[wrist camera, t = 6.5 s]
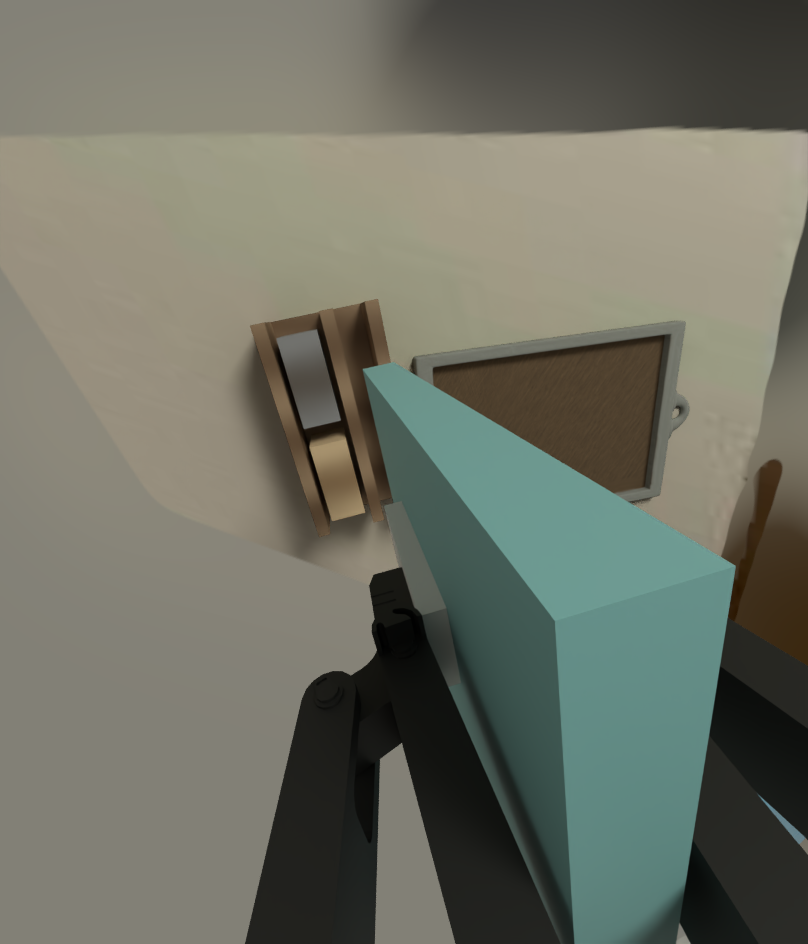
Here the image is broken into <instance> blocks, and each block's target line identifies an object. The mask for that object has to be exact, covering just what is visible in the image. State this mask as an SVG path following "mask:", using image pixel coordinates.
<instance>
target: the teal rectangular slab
mask: <svg viewBox="0 0 808 944" xmlns="http://www.w3.org/2000/svg"><path fill="white" fill-rule="evenodd" d="M363 373H364V378H365V382H366V386H367V391H368V395H369V399H370V404H371V408H372V412H373V417H374V421H375V425H376V430H377V434H378V438H379V443H380V447H381V451H382V456H383V460H384V464H385V469H386V473H387V477H388V482H389V486H390V490H391V495H392V499H393V503H396V502H400V501H402V503H403V506H404V508H405V510H406V513H407V515H408V518H409V520H410V522H411V525H412V527H413V530H414V532H415V534H416V537H417V539H418V541H419V544H420V546H421V549H422V551H423V553H424V556H425V558H426V561H427V563H428V565H429V568H430V570H431V572H432V575H433V577H434V580H435V582H436V584H437V587H438V589H439V592H440V594H441V596H442V599H443V601H444V603H445V606H446V608H447V613H448V619H449V624H450V629H451V634H452V639H453V644H454V649H455V654H456V660H457V665H458V670H459V675H460V680H461V683H459V684H456V685H453V686H450V687H449V690H450V692H451V694H452V696H453V699H454V701H455V703H456V705H457V708H458V710H459V712H460V715H461V717H462V719H463V721H464V724H465V726H466V728H467V731H468V733H469V735H470V737H471V740H472V742H473V744H474V747H475V749H476V751H477V753H478V756H479V758H480V760H481V763H482V765H483V767H484V769H485V772H486V774H487V776H488V779H489V781H490V783H491V785H492V788H493V790H494V792H495V795H496V797H497V799H498V801H499V804H500V806H501V808H502V810H503V813H504V815H505V817H506V820H507V822H508V824H509V826H510V829H511V831H512V833H513V836H514V838H515V840H516V842H517V845H518V847H519V849H520V852H521V854H522V856H523V858H524V861H525V863H526V865H527V868H528V870H529V872H530V874H531V877H532V879H533V881H534V884H535V886H536V888H537V890H538V893H539V895H540V897H541V900H542V902H543V904H544V906H545V909H546V911H547V913H548V916H549V918H550V920H551V922H552V925H553V927H554V929H555V931H556V934H557V936H558V938H559V941H560V943H561V944H676V941H677V934H678V928H679V922H680V915H681V909H682V903H683V896H684V890H685V884H686V877H687V871H688V865H689V858H690V852H691V846H692V839H693V833H694V827H695V820H696V814H697V808H698V801H699V795H700V789H701V783H702V776H703V770H704V764H705V757H706V751H707V745H708V738H709V732H710V726H711V719H712V713H713V707H714V700H715V694H716V688H717V681H718V675H719V669H720V662H721V656H722V650H723V643H724V637H725V631H726V624H727V618H728V612H729V605H730V599H731V593H732V586H733V580H734V574H735V567H736V566H735V565H733V564H731V563H730V562H728V561H726V560H725V559H723V558H721V557H720V556H718V555H716V554H715V553H713V552H711V551H710V550H708V549H706V548H705V547H703V546H701V545H699V544H698V543H696V542H694V541H693V540H691V539H689V538H688V537H686V536H684V535H683V534H681V533H679V532H678V531H676V530H674V529H673V528H671V527H669V526H668V525H666V524H664V523H663V522H661V521H659V520H658V519H656V518H654V517H652V516H651V515H649V514H647V513H646V512H644V511H642V510H641V509H639V508H637V507H636V506H634V505H632V504H631V503H629V502H627V501H626V500H624V499H622V498H621V497H619V496H617V495H616V494H614V493H612V492H611V491H609V490H607V489H606V488H604V487H602V486H600V485H599V484H597V483H595V482H594V481H592V480H590V479H589V478H587V477H585V476H584V475H582V474H580V473H579V472H577V471H575V470H574V469H572V468H570V467H569V466H567V465H565V464H564V463H562V462H560V461H559V460H557V459H555V458H554V457H552V456H550V455H548V454H547V453H545V452H543V451H542V450H540V449H538V448H537V447H535V446H533V445H532V444H530V443H528V442H527V441H525V440H523V439H522V438H520V437H518V436H517V435H515V434H513V433H512V432H510V431H508V430H507V429H505V428H503V427H502V426H500V425H498V424H496V423H495V422H493V421H491V420H490V419H488V418H486V417H485V416H483V415H481V414H480V413H478V412H476V411H475V410H473V409H471V408H470V407H468V406H466V405H465V404H463V403H461V402H460V401H458V400H456V399H455V398H453V397H451V396H450V395H448V394H446V393H444V392H443V391H441V390H439V389H438V388H436V387H434V386H433V385H431V384H429V383H428V382H426V381H424V380H423V379H421V378H419V377H418V376H416V375H414V374H413V373H411V372H409V371H408V370H406V369H404V368H403V367H401V366H399V365H398V364H396V363H394V362H392V363H388V364H383V365H379V366H374V367H370V368H366V369H363Z"/></svg>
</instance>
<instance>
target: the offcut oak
mask: <svg viewBox="0 0 808 944" xmlns="http://www.w3.org/2000/svg"><path fill="white" fill-rule="evenodd" d="M310 450H311V454H312V457H313V460H314V464H315V467H316V470H317V473H318V477H319V480H320V483H321V486H322V490H323V493H324V496H325V499H326V503H327V506H328V509H329V513H330V516H331V519H332V521H335V520H339V519H343V518H346V517H350V516H354V515H358V514H362V513H365V509H364V504H363V499H362V494H361V491H360V487H359V483H358V479H357V475H356V472H355V468H354V464H353V460H352V456H351V453H350V449H349V445H348V441H347V438H346V434H345V430H344V427H341V428H337V429H333V430H328V431H324V432H320V433H316V434H312V435H311V441H310Z"/></svg>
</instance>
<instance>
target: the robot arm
mask: <svg viewBox="0 0 808 944" xmlns="http://www.w3.org/2000/svg"><path fill="white" fill-rule="evenodd" d="M384 508H385V512H386V516H387V521H388V525H389V529H390V533H391V537H392V541H393V545H394V549H395V554H396V558H397V562H398V565H399V568H396V569H393V570H389V571H386V572H382V573H378V574H375V575H373V578H372V580H371V583H370V585H369V587H370V593H371V598H372V605H373V611H374V618H375V620H374V622H373V624H372V635H373V638H374V641H375V645H376V648H377V652H376V654H375V656H374V657H373V659H372V660H371V661H370V662H369V663H368V664H367V665H366V666H365V667H363V668H362V669H361V670H359V671H357V672H356V673H354V674H353V675H351V676H350V675H349V674H347V673H344V672H343V671H332V672H329V673H326V674H323V675H321V676H320V677H318V678H317V679H316V680H314V681H313V682H312V683H311V684H310V686H309V687H308V688H307V689H306V691H305V693H304V696H303V698H302V701H301V706H300V710H299V714H298V718H297V722H296V727H295V731H294V736H293V740H292V744H291V748H290V753H289V757H288V761H287V766H286V770H285V774H284V779H283V783H282V787H281V792H280V796H279V800H278V805H277V809H276V813H275V817H274V821H273V826H272V830H271V834H270V839H269V843H268V847H267V852H266V856H265V860H264V865H263V869H262V874H261V877H260V882H259V886H258V890H257V895H256V899H255V903H254V908H253V912H252V917H251V921H250V925H249V929H248V933H247V938H246V942H245V944H375V913H376V911H375V910H376V909H375V908H376V877H377V843H378V842H377V841H378V840H377V839H378V806H379V772H380V771H379V769H380V758H382V757H383V756H384V755H386V754H387V753H388V752H390V751H391V750H393V749H394V748H395V747H397V746H398V745H399V744H401V743H402V744H403V748H404V752H405V756H406V760H407V763H408V767H409V771H410V775H411V778H412V782H413V785H414V790H415V793H416V797H417V801H418V805H419V808H420V812H421V816H422V819H423V823H424V827H425V831H426V835H427V838H428V842H429V846H430V850H431V853H432V857H433V861H434V865H435V868H436V872H437V876H438V880H439V883H440V887H441V891H442V895H443V898H444V902H445V906H446V910H447V913H448V917H449V921H450V924H451V928H452V932H453V935H454V940H455V943H456V944H561V943H560V941H559V938H558V936H557V934H556V931H555V929H554V927H553V925H552V922H551V920H550V918H549V916H548V913H547V911H546V909H545V906H544V904H543V902H542V900H541V897H540V895H539V893H538V890H537V888H536V886H535V884H534V881H533V879H532V877H531V874H530V872H529V870H528V868H527V865H526V863H525V861H524V858H523V856H522V854H521V852H520V849H519V847H518V845H517V842H516V840H515V838H514V836H513V833H512V831H511V829H510V826H509V824H508V822H507V820H506V817H505V815H504V813H503V810H502V808H501V806H500V804H499V801H498V799H497V797H496V795H495V792H494V790H493V788H492V785H491V783H490V781H489V779H488V776H487V774H486V772H485V769H484V767H483V765H482V763H481V760H480V758H479V756H478V753H477V751H476V749H475V747H474V744H473V742H472V740H471V737H470V735H469V733H468V731H467V728H466V726H465V724H464V721H463V719H462V717H461V715H460V712H459V710H458V708H457V705H456V703H455V701H454V699H453V696H452V694H451V692H450V690H449V687H450V686H453V685H456V684H459V683H461V680H460V675H459V670H458V665H457V660H456V654H455V649H454V644H453V639H452V634H451V629H450V624H449V619H448V613H447V608H446V606H445V603H444V601H443V599H442V596H441V594H440V592H439V589H438V587H437V584H436V582H435V580H434V577H433V575H432V572H431V570H430V568H429V565H428V563H427V561H426V558H425V556H424V553H423V551H422V549H421V546H420V544H419V541H418V539H417V537H416V534H415V532H414V530H413V527H412V525H411V522H410V520H409V518H408V515H407V513H406V510H405V508H404V506H403V503H402V501H400V502H396V503H392V504H388V505H384ZM805 838H806V839H807V840H808V666H807V665H805V664H804V663H802V662H800V661H798V660H797V659H795V658H794V657H792V656H790V655H789V654H787V653H785V652H783V651H782V650H780V649H779V648H777V647H775V646H774V645H772V644H770V643H768V642H767V641H765V640H764V639H762V638H760V637H758V636H757V635H755V634H754V633H752V632H750V631H748V630H747V629H745V628H743V627H742V626H740V625H738V624H737V623H735V622H733V621H732V620H730V619H728V618H727V624H726V631H725V637H724V643H723V650H722V656H721V662H720V669H719V675H718V681H717V688H716V694H715V700H714V707H713V713H712V719H711V726H710V732H709V738H708V745H707V751H706V757H705V764H704V770H703V776H702V783H701V789H700V795H699V801H698V808H697V814H696V820H695V827H694V833H693V839H692V846H691V852H690V858H689V865H688V871H687V877H686V884H685V890H684V896H683V903H682V909H681V915H680V922H679V928H678V934H677V941H676V944H808V855H807V854H806V852H805V851H804V850H803V848H802V847H801V846H800V845H799V844H800V843H801V842H802V841H803V840H804V839H805Z"/></svg>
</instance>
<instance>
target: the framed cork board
mask: <svg viewBox="0 0 808 944" xmlns="http://www.w3.org/2000/svg"><path fill="white" fill-rule="evenodd" d="M685 324H686V322H685V321H670V322H663V323H656V324H648V325H641V326H633V327H626V328H619V329H611V330H604V331H597V332H589V333H582V334H575V335H567V336H560V337H553V338H545V339H538V340H531V341H523V342H516V343H509V344H501V345H494V346H487V347H479V348H472V349H465V350H457V351H450V352H443V353H435V354H428V355H421V356H415V357H413V368H414V375H416V376H418V377H419V378H421V379H423V380H424V381H426V382H428V383H429V384H431V385H433V386H434V387H436V388H438V389H439V390H441V391H443V392H444V393H446V394H448V395H450V396H451V397H453V398H455V399H456V400H458V401H460V402H461V403H463V404H465V405H466V406H468V407H470V408H471V409H473V410H475V411H476V412H478V413H480V414H481V415H483V416H485V417H486V418H488V419H490V420H491V421H493V422H495V423H496V424H498V425H500V426H502V427H503V428H505V429H507V430H508V431H510V432H512V433H513V434H515V435H517V436H518V437H520V438H522V439H523V440H525V441H527V442H528V443H530V444H532V445H533V446H535V447H537V448H538V449H540V450H542V451H543V452H545V453H547V454H548V455H550V456H552V457H554V458H555V459H557V460H559V461H560V462H562V463H564V464H565V465H567V466H569V467H570V468H572V469H574V470H575V471H577V472H579V473H580V474H582V475H584V476H585V477H587V478H589V479H590V480H592V481H594V482H595V483H597V484H599V485H600V486H602V487H604V488H606V489H607V490H609V491H611V492H612V493H614V494H616V495H617V496H619V497H621V498H622V499H624V500H626V501H627V502H631V501H636V500H641V499H646V498H651V497H655V496H659V495H660V492H661V485H662V479H663V472H664V465H665V459H666V452H667V445H668V439H669V438H670V436H671V434H672V431H673V430H675V429H677V428H678V427H679V426H680V425H681V424H682V423H683V422H684V421H685V419H686V418H687V416H688V414H689V404H688V402H687V400H686V399H685V397H684V396H682V395H680V394H677V391H676V385H677V378H678V372H679V365H680V358H681V352H682V345H683V338H684V332H685ZM676 406H679V407H680V413H679V415H678V416H677V417H676V418H674V419H672V412H673V411H674V409H675V407H676Z"/></svg>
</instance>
